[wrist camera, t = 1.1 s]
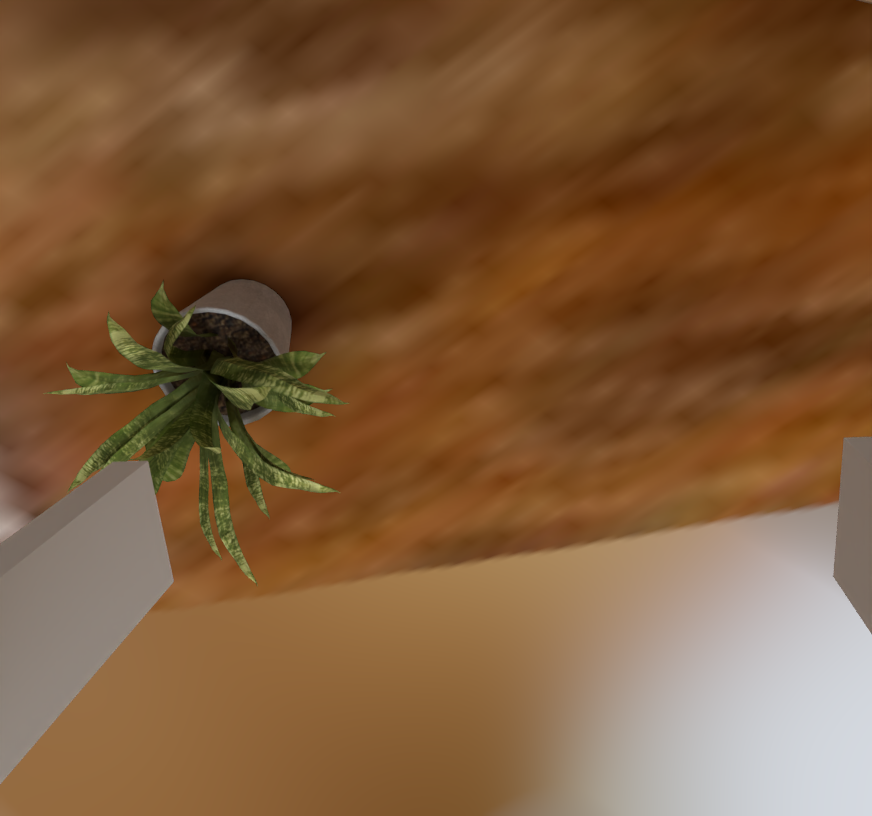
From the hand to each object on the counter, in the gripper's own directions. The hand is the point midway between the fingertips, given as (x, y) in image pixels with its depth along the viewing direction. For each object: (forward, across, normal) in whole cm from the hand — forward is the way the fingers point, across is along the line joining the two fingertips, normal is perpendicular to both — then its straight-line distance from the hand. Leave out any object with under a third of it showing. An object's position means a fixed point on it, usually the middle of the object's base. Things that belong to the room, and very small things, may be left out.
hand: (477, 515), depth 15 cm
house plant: (+31, -16, -3) cm, 35 cm away
